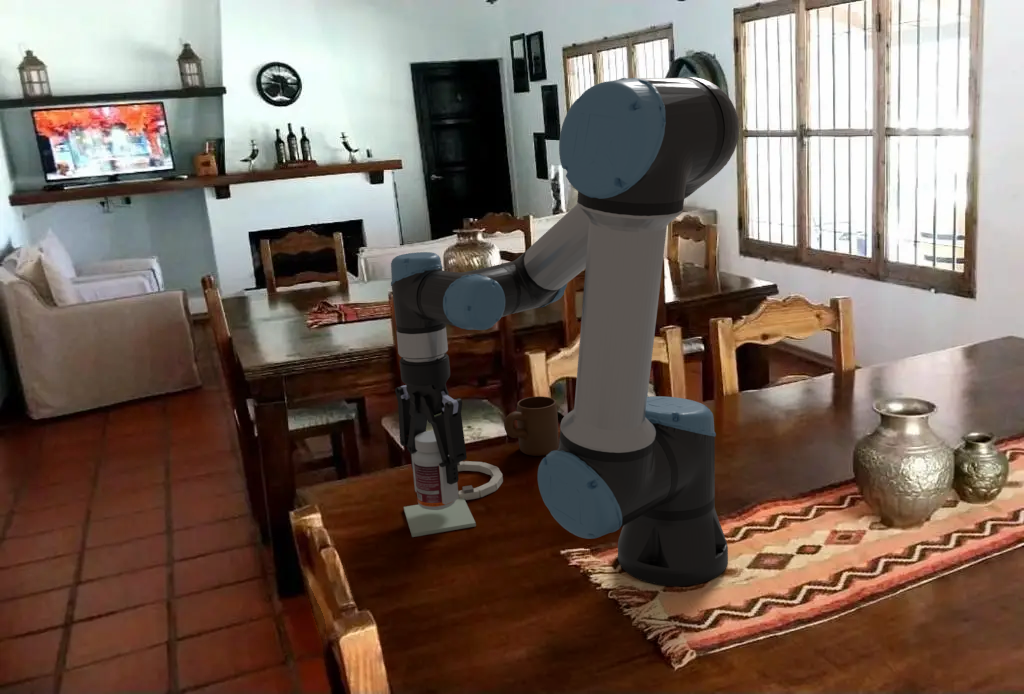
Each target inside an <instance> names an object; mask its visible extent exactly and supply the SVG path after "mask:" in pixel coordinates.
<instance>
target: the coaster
mask: <svg viewBox="0 0 1024 694" xmlns="http://www.w3.org/2000/svg"><path fill="white" fill-rule="evenodd" d="M466 501H467V500H465V499H464V497H461V498H459V499H457V500H456V501H455V503H454V504H453V505H451V506H450V507H448V508H445V509H441V510H428V509H424V508H422V507H421V506H420V505H419V504H413V505H407V506H406V505H405V506H403V512H404V515H405V518H406V522H407V524H408V528H409V531H410V534H411V538H414V537H415V538H416V537H422V536H427V535H434V534H440V533H444V532H451V531H455V530H462V529H469V528H473V527H474V528H475V527H476V526H477V523H476V520H475V519H474V516H473V514H472V512H471V509H470V507H469V506H468V503H467V502H466Z"/></svg>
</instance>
